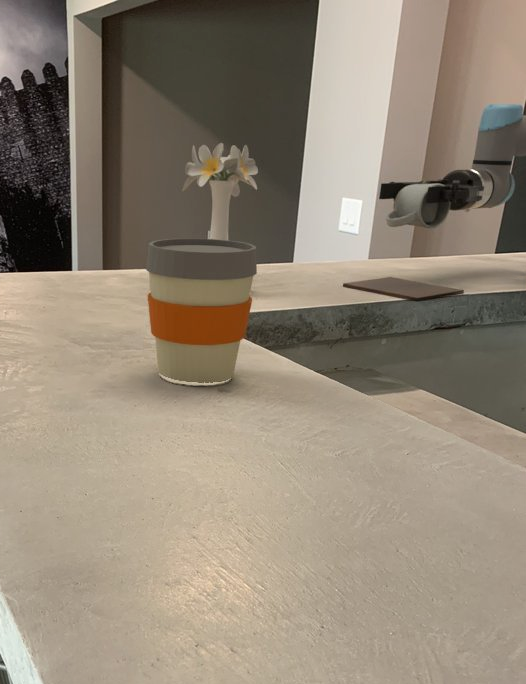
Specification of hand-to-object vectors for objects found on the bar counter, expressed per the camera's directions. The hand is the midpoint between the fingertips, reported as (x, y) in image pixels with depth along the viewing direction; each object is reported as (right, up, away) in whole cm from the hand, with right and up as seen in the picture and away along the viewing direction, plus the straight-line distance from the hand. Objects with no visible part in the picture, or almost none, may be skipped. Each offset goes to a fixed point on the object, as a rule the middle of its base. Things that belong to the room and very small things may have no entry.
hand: (404, 193), depth 139 cm
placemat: (+2, -15, +9) cm, 18 cm away
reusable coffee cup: (-41, -41, -47) cm, 75 cm away
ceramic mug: (+3, -4, +5) cm, 8 cm away
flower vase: (-35, -17, +3) cm, 39 cm away
